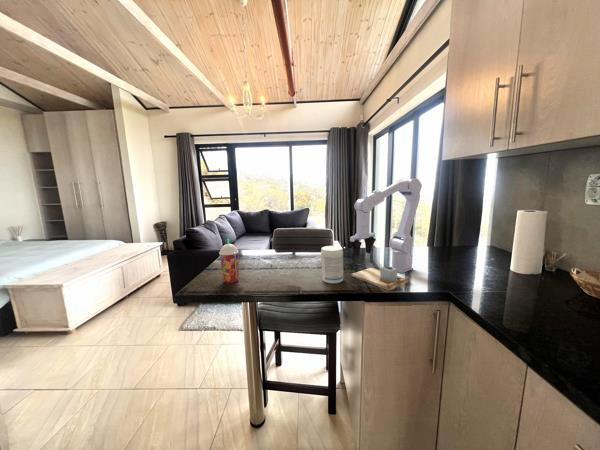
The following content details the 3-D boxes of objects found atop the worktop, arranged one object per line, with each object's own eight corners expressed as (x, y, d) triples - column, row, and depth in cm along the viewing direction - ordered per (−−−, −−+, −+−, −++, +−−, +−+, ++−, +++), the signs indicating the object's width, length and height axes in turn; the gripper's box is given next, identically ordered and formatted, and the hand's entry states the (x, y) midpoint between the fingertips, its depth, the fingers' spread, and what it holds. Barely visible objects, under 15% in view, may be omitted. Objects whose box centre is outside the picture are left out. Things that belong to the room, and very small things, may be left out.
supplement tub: (347, 280, 106) (348, 248, 104) (331, 286, 101) (331, 252, 99) (333, 274, 114) (333, 244, 112) (317, 279, 109) (316, 247, 107)
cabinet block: (386, 276, 106) (387, 264, 105) (396, 280, 102) (397, 267, 101) (380, 279, 104) (380, 266, 103) (390, 282, 100) (390, 269, 99)
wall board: (371, 269, 119) (371, 265, 119) (409, 282, 103) (409, 277, 102) (351, 276, 112) (351, 271, 111) (388, 290, 95) (388, 285, 95)
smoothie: (244, 278, 111) (241, 236, 108) (232, 285, 104) (229, 240, 101) (230, 276, 115) (227, 235, 112) (217, 283, 108) (213, 239, 104)
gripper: (366, 222, 116) (366, 250, 118) (345, 226, 108) (345, 255, 110) (379, 224, 110) (378, 253, 113) (356, 228, 102) (356, 258, 105)
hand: (362, 254), depth 111 cm, fingers open, 7 cm apart
